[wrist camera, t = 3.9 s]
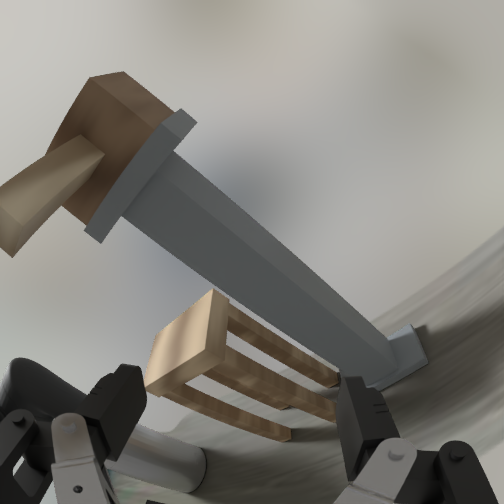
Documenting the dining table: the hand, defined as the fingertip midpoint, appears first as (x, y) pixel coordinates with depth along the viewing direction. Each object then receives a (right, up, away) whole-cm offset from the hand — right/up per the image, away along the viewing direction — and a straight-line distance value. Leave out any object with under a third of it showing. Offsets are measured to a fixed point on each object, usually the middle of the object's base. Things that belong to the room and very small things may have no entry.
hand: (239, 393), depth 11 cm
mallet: (-7, +9, +4) cm, 12 cm away
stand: (+15, -8, +20) cm, 26 cm away
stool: (+8, -14, +24) cm, 29 cm away
